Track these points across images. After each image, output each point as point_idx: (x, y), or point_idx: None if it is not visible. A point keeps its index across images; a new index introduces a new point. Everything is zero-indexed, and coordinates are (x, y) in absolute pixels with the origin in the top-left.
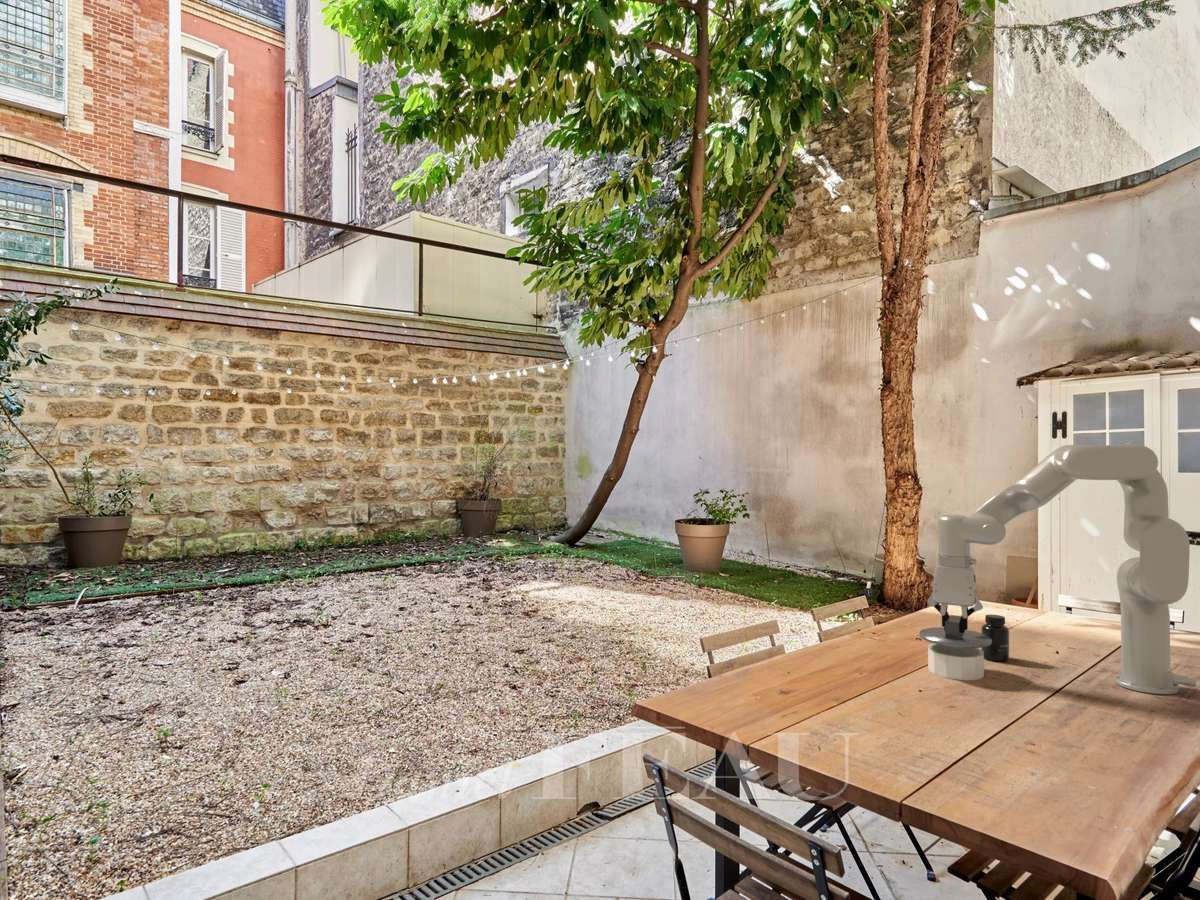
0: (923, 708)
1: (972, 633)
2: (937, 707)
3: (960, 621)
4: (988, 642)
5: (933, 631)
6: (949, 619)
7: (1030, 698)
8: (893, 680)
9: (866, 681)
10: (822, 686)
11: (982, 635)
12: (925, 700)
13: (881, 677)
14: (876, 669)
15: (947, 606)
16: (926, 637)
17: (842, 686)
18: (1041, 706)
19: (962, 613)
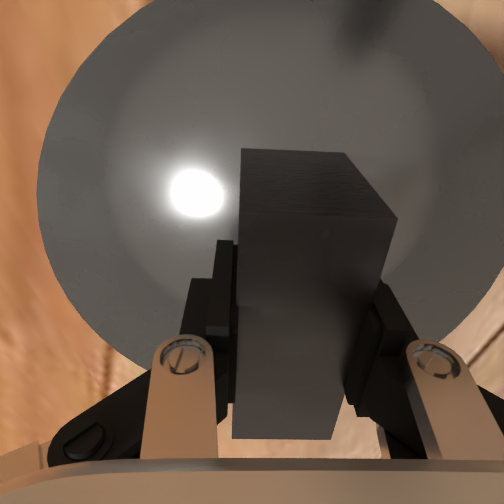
0: (233, 454)
1: (413, 118)
2: (257, 442)
3: (345, 385)
4: (472, 306)
5: (126, 220)
6: (255, 390)
7: (480, 317)
8: (113, 348)
9: (60, 383)
10: (6, 442)
11: (484, 145)
12: (227, 424)
13: (73, 341)
14: (15, 281)
15: (216, 438)
16: (142, 363)
17: (39, 428)
18: (488, 356)
19: (387, 457)
